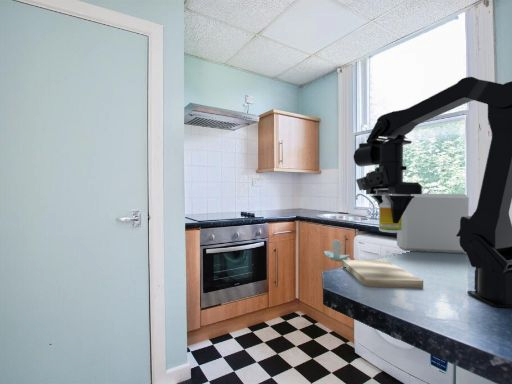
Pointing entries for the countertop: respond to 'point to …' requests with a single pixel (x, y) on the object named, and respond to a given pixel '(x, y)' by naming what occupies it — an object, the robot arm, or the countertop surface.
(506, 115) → the robot arm
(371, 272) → the birch board
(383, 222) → the supplement bottle
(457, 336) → the countertop surface
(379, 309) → the countertop surface
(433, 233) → the bevelled white case
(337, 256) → the pacifier
